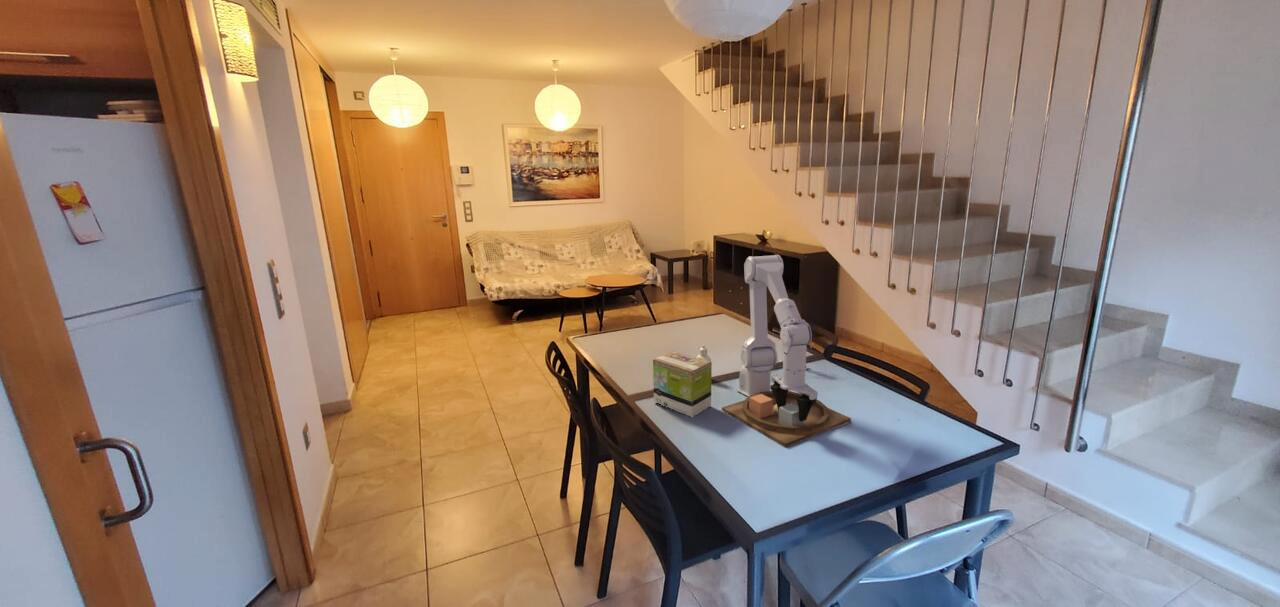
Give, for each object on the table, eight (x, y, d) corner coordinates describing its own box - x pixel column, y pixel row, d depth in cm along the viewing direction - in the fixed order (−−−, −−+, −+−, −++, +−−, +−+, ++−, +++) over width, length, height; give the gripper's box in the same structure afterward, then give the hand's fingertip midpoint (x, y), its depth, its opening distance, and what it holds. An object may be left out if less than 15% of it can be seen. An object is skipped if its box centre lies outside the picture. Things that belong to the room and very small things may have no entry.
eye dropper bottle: (708, 374, 177) (708, 341, 174) (711, 381, 172) (711, 347, 169) (695, 375, 177) (695, 342, 174) (698, 382, 172) (698, 348, 169)
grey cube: (778, 422, 140) (779, 407, 139) (790, 418, 142) (791, 403, 141) (791, 429, 136) (792, 413, 135) (803, 425, 139) (804, 409, 137)
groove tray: (721, 410, 151) (721, 402, 150) (783, 390, 163) (783, 383, 162) (785, 447, 130) (785, 438, 129) (850, 421, 142) (851, 413, 141)
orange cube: (749, 412, 147) (749, 397, 146) (761, 408, 149) (761, 393, 148) (760, 418, 143) (760, 403, 142) (772, 414, 145) (773, 399, 144)
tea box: (652, 404, 156) (651, 358, 153) (673, 393, 163) (672, 349, 160) (692, 418, 146) (691, 370, 143) (712, 406, 153) (712, 360, 150)
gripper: (763, 362, 139) (762, 408, 143) (804, 379, 127) (802, 429, 131) (782, 357, 143) (780, 402, 146) (824, 373, 131) (821, 422, 134)
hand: (791, 414), depth 139 cm, fingers open, 7 cm apart
